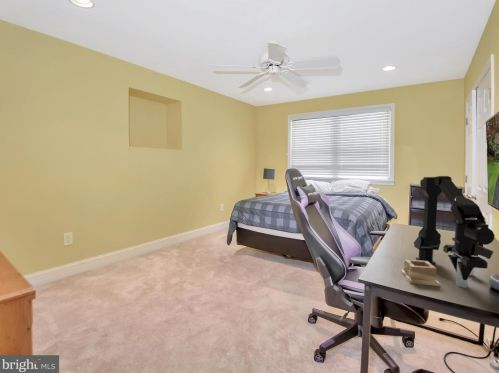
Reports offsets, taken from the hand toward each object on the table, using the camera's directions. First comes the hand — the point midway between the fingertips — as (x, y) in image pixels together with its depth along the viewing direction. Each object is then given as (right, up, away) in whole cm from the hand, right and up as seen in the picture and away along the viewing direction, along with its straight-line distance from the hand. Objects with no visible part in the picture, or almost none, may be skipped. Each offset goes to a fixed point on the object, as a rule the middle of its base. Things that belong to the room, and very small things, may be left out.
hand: (462, 277), depth 103 cm
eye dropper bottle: (+11, -2, +12) cm, 16 cm away
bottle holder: (-12, -3, +7) cm, 14 cm away
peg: (0, -3, 0) cm, 3 cm away
